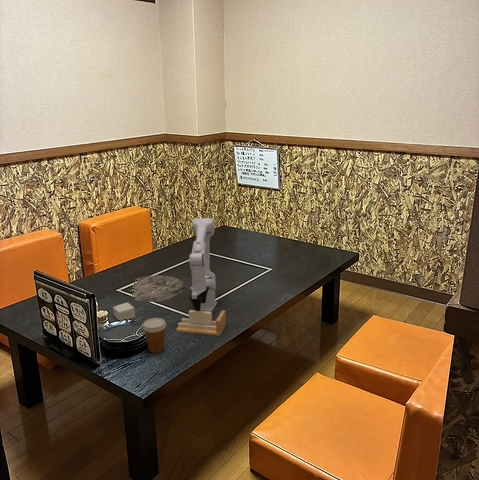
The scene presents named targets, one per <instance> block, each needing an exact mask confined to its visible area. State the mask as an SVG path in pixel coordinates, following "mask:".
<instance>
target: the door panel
mask: <svg viewBox="0 0 479 480" xmlns="http://www.w3.org/2000/svg"><path fill="white" fill-rule="evenodd" d="M212 313H213V312H212V311H203V310H200V311H195V309H190V310H189V311H188V319H189V323H190V324H198V325H209V326H212V321H213V314H212Z"/></svg>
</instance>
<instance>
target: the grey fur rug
mask: <svg viewBox="0 0 479 480" xmlns="http://www.w3.org/2000/svg"><path fill="white" fill-rule="evenodd" d="M136 278H137V279H136ZM136 278H135V279H136V280H137V281H136V280H135V281H136V282H137V283H134V284H135V285H133V287H132V288H135V289H132V290H130V291H134V293H132V294H133V295H134V298H135V299H134V300H135V301H134V302H136V301H138V302H137V303H155V302H160V301H164V300H166V299H170V298H172V297H175V296H177V295H178V294H179V293H181V292H183V291H185V290H186V285H185V283H184V281H182V280H181V279H179V278H177V277H174V276H172V275H171V276H170V275H163V274H162V275H160V274H158V275H157V274H156V275H147V276H141V277H136ZM134 286H135V287H134ZM133 295H132V296H133ZM132 296H131V297H132Z"/></svg>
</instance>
